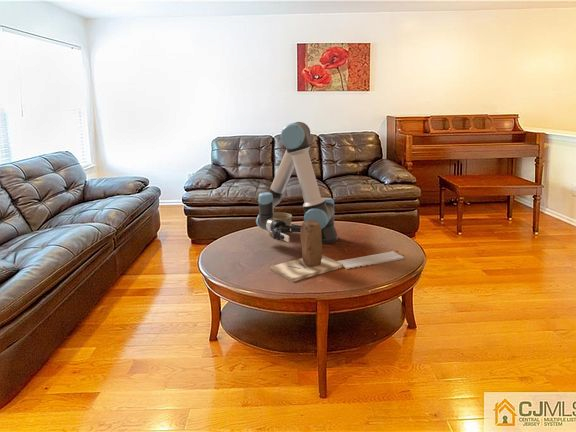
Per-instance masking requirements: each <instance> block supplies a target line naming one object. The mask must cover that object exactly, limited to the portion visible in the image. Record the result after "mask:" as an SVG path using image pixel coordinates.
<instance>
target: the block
mask: <svg viewBox="0 0 576 432" xmlns="http://www.w3.org/2000/svg"><path fill="white" fill-rule="evenodd" d="M300 226H301V232H300V245H301V246H300V247H301V258H302V259H303V262H304V263H305V264H306V265H307V266H318V265H319V264H321V259H322V255H323V244H322V236H321V225H320V223H319V222H317V221H316V220H307V221H304V220H303V222H302V223H301V225H300Z"/></svg>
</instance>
